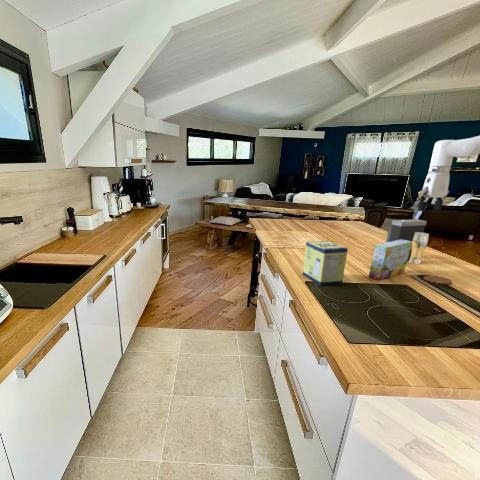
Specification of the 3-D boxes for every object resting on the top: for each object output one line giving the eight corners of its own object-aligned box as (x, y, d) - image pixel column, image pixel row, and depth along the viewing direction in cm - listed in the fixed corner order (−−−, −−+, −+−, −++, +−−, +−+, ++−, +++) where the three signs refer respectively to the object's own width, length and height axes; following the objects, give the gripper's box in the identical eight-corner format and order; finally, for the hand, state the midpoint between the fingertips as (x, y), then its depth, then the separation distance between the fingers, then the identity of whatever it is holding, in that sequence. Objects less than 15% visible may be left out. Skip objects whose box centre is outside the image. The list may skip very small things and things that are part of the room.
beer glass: (403, 260, 165) (410, 232, 159) (418, 260, 163) (425, 232, 158) (409, 264, 158) (416, 234, 153) (424, 264, 157) (432, 235, 152)
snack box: (380, 281, 135) (387, 247, 130) (367, 277, 140) (374, 244, 134) (405, 272, 146) (413, 240, 140) (393, 269, 150) (399, 238, 145)
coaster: (436, 276, 140) (437, 274, 140) (457, 283, 131) (458, 282, 131) (417, 277, 139) (417, 276, 138) (437, 285, 129) (437, 283, 129)
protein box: (322, 273, 147) (327, 240, 141) (342, 284, 132) (348, 248, 127) (301, 274, 145) (305, 241, 140) (320, 285, 131) (325, 249, 125)
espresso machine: (417, 259, 167) (427, 220, 159) (393, 260, 165) (402, 221, 157) (403, 254, 175) (412, 217, 168) (380, 256, 173) (388, 218, 166)
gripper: (433, 171, 132) (423, 212, 138) (461, 170, 137) (451, 210, 143) (416, 171, 139) (407, 210, 145) (444, 170, 144) (434, 208, 150)
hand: (429, 210), depth 144 cm, fingers open, 9 cm apart
